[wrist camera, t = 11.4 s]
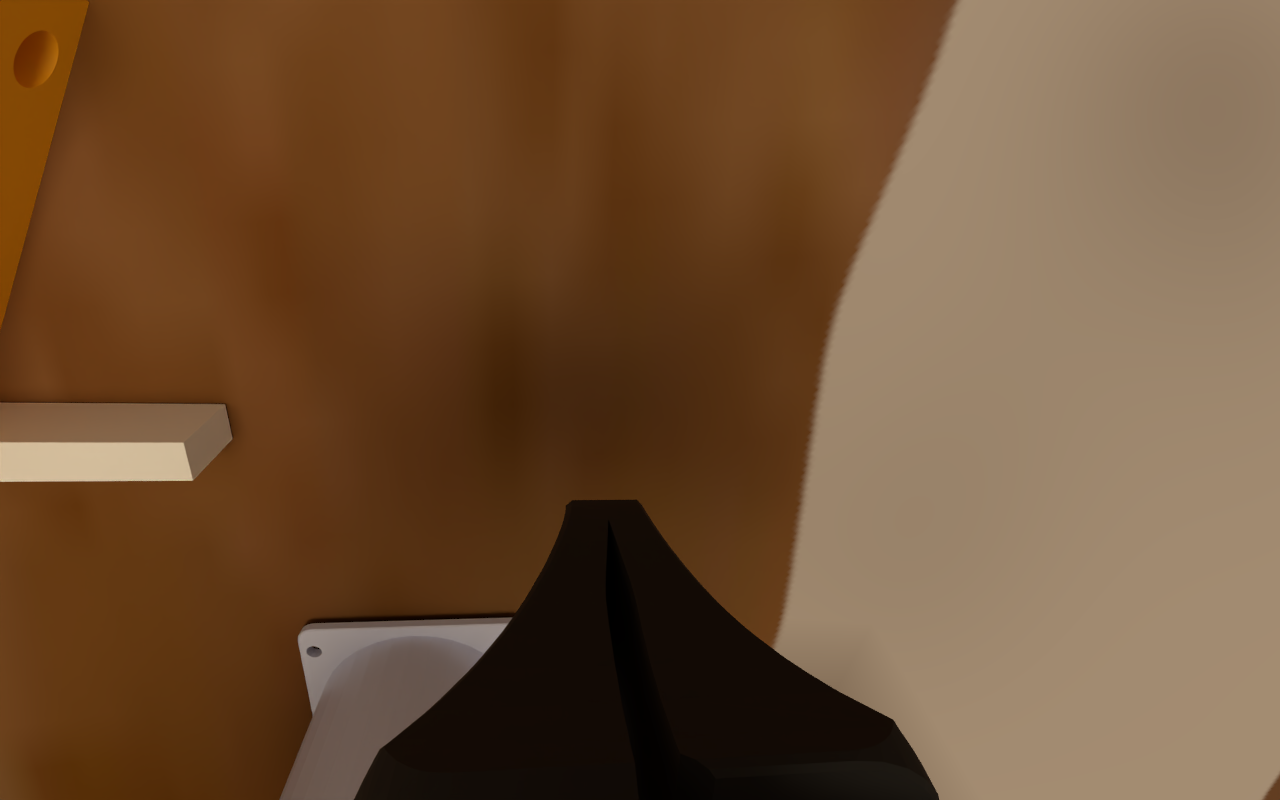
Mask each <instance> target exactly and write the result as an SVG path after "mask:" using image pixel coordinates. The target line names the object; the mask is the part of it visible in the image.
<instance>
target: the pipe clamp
mask: <svg viewBox="0 0 1280 800" xmlns="http://www.w3.org/2000/svg"><path fill="white" fill-rule="evenodd" d="M88 5H89V2H88V1H87V0H0V330H1V326H2V323H3V319H4V315H5V312H6V308H7V304H8V300H9V297H10V293H11V289H12V286H13V282H14V278H15V275H16V271H17V267H18V264H19V260H20V256H21V253H22V249H23V245H24V241H25V238H26V234H27V230H28V227H29V223H30V219H31V216H32V212H33V208H34V205H35V201H36V197H37V193H38V190H39V186H40V182H41V179H42V175H43V171H44V168H45V164H46V160H47V157H48V153H49V149H50V146H51V142H52V138H53V134H54V131H55V127H56V123H57V120H58V116H59V112H60V109H61V105H62V101H63V98H64V94H65V90H66V86H67V83H68V79H69V75H70V72H71V68H72V64H73V61H74V57H75V53H76V50H77V46H78V42H79V38H80V35H81V31H82V27H83V24H84V20H85V16H86V13H87V9H88Z"/></svg>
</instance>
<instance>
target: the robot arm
mask: <svg viewBox="0 0 1280 800" xmlns="http://www.w3.org/2000/svg"><path fill="white" fill-rule="evenodd" d="M298 644H299V649H300V654H301V659H302V664H303V669H304V674H305V679H306V684H307V690H308V695H309V700H310V705H311V710H312V715H313V717H312V720H311V722H310V725H309V727H308V730H307V732H306V735H305V737H304V740H303V742H302V745H301V747H300V750H299V752H298V755H297V757H296V760H295V762H294V765H293V767H292V770H291V772H290V775H289V777H288V780H287V782H286V785H285V787H284V790H283V792H282V795H281V797H280V800H939V797H938V793H937V792H936V790H935V788H934V786H933V785H932V782H931V780H930V779H929V777H928V775H927V773H926V771H925V769H924V767H923V766H922V764H921V762H920V760H919V759H918V757H917V755H916V754H915V752H914V751H913V749H912V748H911V746H910V745H909V743H908V741H907V740H906V739H905V737H904V736H903V734H902V733H901V731H900V730H899V728H898V727H897V725H896V723H895V722H894V720H893V719H891V718H889V717H887V716H885V715H883V714H881V713H879V712H877V711H875V710H873V709H871V708H869V707H867V706H865V705H864V704H862V703H860V702H858V701H856V700H854V699H852V698H850V697H848V696H846V695H844V694H842V693H840V692H839V691H837V690H835V689H833V688H832V687H830V686H828V685H826V684H825V683H823V682H822V681H820V680H819V679H817V678H815V677H814V676H812V675H810V674H809V673H807V672H805V671H804V670H802V669H801V668H799V667H798V666H796V665H795V664H793V663H792V662H790V661H789V660H787V659H786V658H784V657H783V656H781V655H780V654H779V653H778V652H776V651H775V650H774V649H772V648H771V647H770V646H768V645H767V644H766V643H764V642H763V641H762V640H760V639H759V638H758V637H756V636H755V635H754V634H753V633H751V632H750V631H749V630H748V629H746V628H745V627H744V626H743V625H742V624H741V623H739V622H738V621H737V620H736V619H735V618H734V617H733V616H732V615H730V614H729V613H728V612H727V611H726V610H725V609H724V608H723V607H722V606H721V605H720V604H719V603H718V602H717V601H716V600H715V599H714V598H713V597H712V596H711V595H710V594H709V593H708V592H707V591H706V589H705V588H704V587H703V586H702V585H701V584H700V583H699V582H698V581H697V580H696V578H695V577H694V576H693V575H692V574H691V573H690V571H689V570H688V569H687V568H686V567H685V565H684V564H683V563H682V562H681V560H680V559H679V558H678V557H677V555H676V554H675V553H674V552H673V550H672V549H671V548H670V546H669V545H668V544H667V542H666V541H665V540H664V538H663V537H662V535H661V534H660V533H659V531H658V530H657V528H656V527H655V525H654V524H653V522H652V521H651V519H650V518H649V516H648V514H647V513H646V511H645V510H644V508H643V506H642V505H641V504H640V503H639V502H638V501H637V500H572V501H571V502H570V503H569V504H567V505H566V512H565V517H564V521H563V524H562V527H561V530H560V532H559V535H558V537H557V540H556V542H555V545H554V547H553V549H552V551H551V553H550V555H549V557H548V559H547V562H546V564H545V566H544V568H543V569H542V571H541V573H540V575H539V576H538V578H537V580H536V582H535V583H534V585H533V587H532V588H531V590H530V592H529V594H528V595H527V597H526V598H525V600H524V602H523V603H522V605H521V606H520V608H519V609H518V611H517V612H516V613H515V615H514V616H513V617H510V618H476V619H443V620H409V621H375V622H342V623H313V624H308V625H306V626H304V627H303V628H302V630H301V632H300V634H299V636H298ZM312 646H315V647H318V648H320V649H315V648H313V647H312Z"/></svg>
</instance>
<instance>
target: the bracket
mask: <svg viewBox="0 0 1280 800" xmlns="http://www.w3.org/2000/svg"><path fill="white" fill-rule="evenodd" d="M232 439H233V438H232V434H231V429H230V424H229V420H228V415H227V410H226V406H225V404H139V403H1V402H0V482H16V481H193V480H194V479H195V478H196V477H197V476H198V475H199V474H200V473H201V472H202V471H203V470H204V468H205V467H206V466H207V465H208V464H209V463H210V462H211V461H212V460H213V459H214V458H215V457H216V456H217V455H218V454H219V453H220V452H221V451H222V450H223V448H224V447H225V446H226V445H227V444H228V443H229V442H230V441H231V440H232Z"/></svg>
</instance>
